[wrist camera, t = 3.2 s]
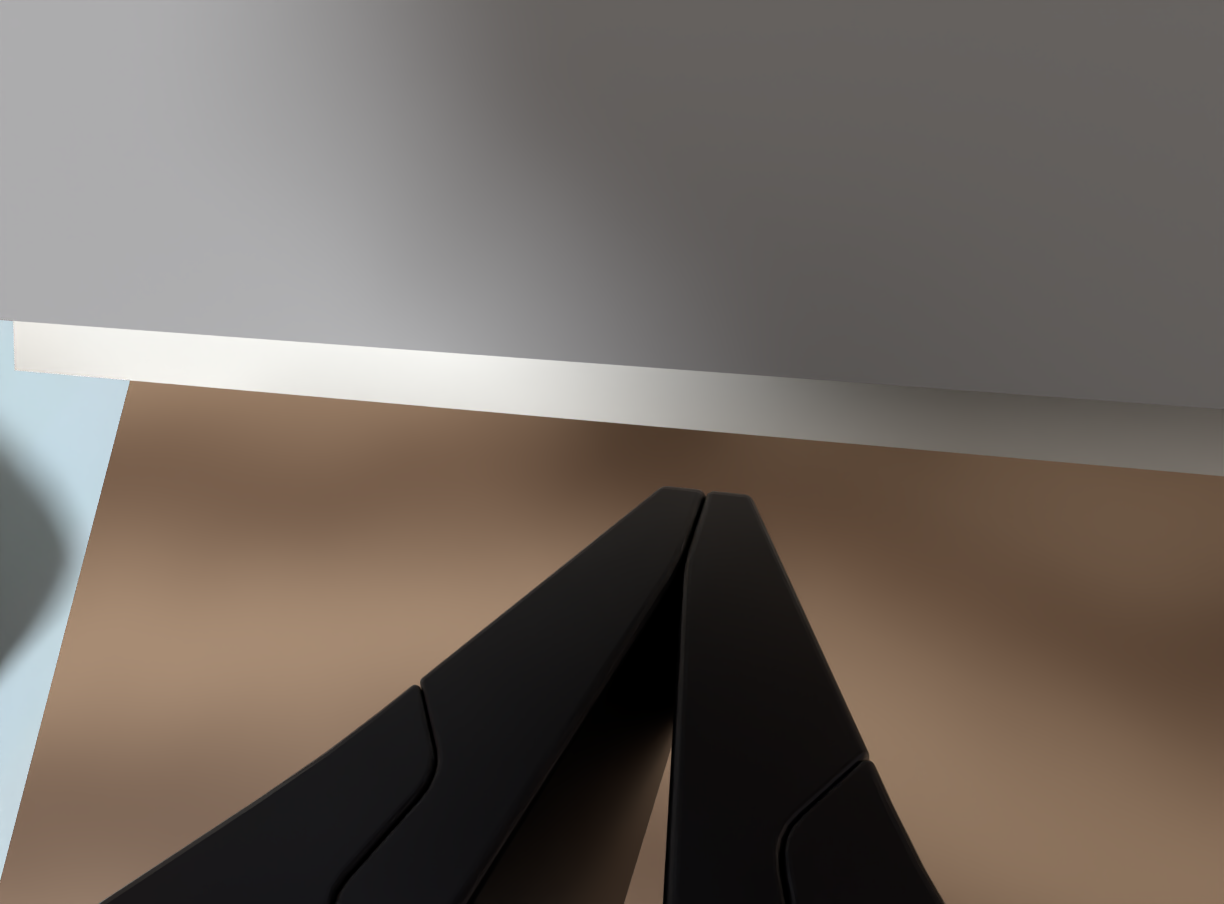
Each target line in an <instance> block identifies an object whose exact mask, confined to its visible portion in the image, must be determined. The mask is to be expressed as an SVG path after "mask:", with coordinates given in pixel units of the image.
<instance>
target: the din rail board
mask: <svg viewBox="0 0 1224 904" xmlns="http://www.w3.org/2000/svg"><path fill="white" fill-rule="evenodd" d="M664 486H672V487H681V488H690V489H699V490H701V491H703V492H704V494H705V496H706V495H707V494H708V493H710V492H712V491H718V492H728V493H738V494H746V495H749V496H750V497H751V498H752V499H753V501H754V503H755V505H756V507H757V509H758V511H759V514H760V516H761V518H762V520H763V522H764V524H765V527H766V529H767V531H768V533H769V535H770V538H771V540H772V542H773V544H774V546H775V549H776V551H777V553H778V555H779V557H780V559H781V562H782V564H783V566H784V568H785V570H786V573H787V575H788V577H789V579H790V581H791V584H792V586H793V588H794V590H795V592H796V595H797V597H798V599H799V601H800V603H801V605H802V608H803V610H804V612H805V614H806V616H807V619H808V621H809V623H810V625H811V627H812V630H813V632H814V634H815V636H816V638H817V641H818V643H819V645H820V647H821V649H822V651H823V654H824V656H825V658H826V660H827V662H828V665H829V667H830V669H831V671H832V673H833V676H834V678H835V680H836V682H837V684H838V686H839V689H840V691H841V693H842V695H843V697H844V700H845V702H846V704H847V706H848V708H849V711H850V713H851V715H852V717H853V719H854V722H855V724H856V726H857V728H858V730H859V732H860V735H861V737H862V739H863V741H864V743H865V746H866V748H867V750H868V752H869V760H870V761H872V762H873V763H874V764H875V766H876V769H877V771H878V773H879V775H880V777H881V779H882V782H883V784H884V786H885V788H886V790H887V793H888V795H889V797H890V799H891V801H892V804H893V806H894V808H895V810H896V812H897V814H898V816H899V818H900V820H901V822H902V824H903V826H904V828H905V830H906V832H907V834H908V836H909V838H910V840H911V842H912V844H913V846H914V848H915V850H916V852H917V854H918V856H919V858H920V860H921V862H922V864H923V866H924V868H925V870H926V871H927V873H928V875H929V876H930V878H931V880H932V882H933V883H934V885H935V887H936V889H937V890H938V892H939V894H940V895H941V897H942V899H943V901H944V902H945V904H1224V476H1215V475H1203V474H1192V473H1180V472H1169V471H1158V470H1146V469H1135V468H1123V467H1112V466H1101V465H1089V464H1078V463H1066V462H1055V461H1044V460H1032V459H1021V458H1009V457H998V456H987V455H975V454H964V453H952V452H941V451H929V450H918V449H907V448H895V447H884V446H872V445H861V444H850V443H838V442H827V441H815V440H804V439H793V438H781V437H770V436H758V435H747V434H736V433H724V432H713V431H701V430H690V429H679V428H667V427H656V426H644V425H633V424H622V423H610V422H599V421H587V420H576V419H565V418H553V417H542V416H530V415H519V414H507V413H496V412H485V411H473V410H462V409H450V408H439V407H428V406H416V405H405V404H393V403H382V402H371V401H359V400H348V399H336V398H325V397H314V396H302V395H291V394H279V393H268V392H257V391H245V390H234V389H222V388H211V387H200V386H188V385H177V384H165V383H154V382H143V381H131V380H130V383H129V387H128V391H127V395H126V399H125V402H124V406H123V410H122V414H121V418H120V422H119V426H118V429H117V433H116V437H115V441H114V445H113V449H112V453H111V456H110V460H109V464H108V468H107V472H106V476H105V479H104V483H103V487H102V491H101V495H100V499H99V503H98V506H97V510H96V514H95V518H94V522H93V526H92V530H91V533H90V537H89V541H88V545H87V549H86V553H85V556H84V560H83V564H82V568H81V572H80V576H79V580H78V583H77V587H76V591H75V595H74V599H73V603H72V607H71V610H70V614H69V618H68V622H67V626H66V630H65V633H64V637H63V641H62V645H61V649H60V653H59V657H58V660H57V664H56V668H55V672H54V676H53V680H52V684H51V687H50V691H49V695H48V699H47V703H46V707H45V710H44V714H43V718H42V722H41V726H40V730H39V734H38V737H37V741H36V745H35V749H34V753H33V757H32V761H31V764H30V768H29V772H28V776H27V780H26V784H25V788H24V791H23V795H22V799H21V803H20V807H19V811H18V814H17V818H16V822H15V826H14V830H13V834H12V838H11V841H10V845H9V849H8V853H7V857H6V861H5V865H4V868H3V872H2V876H1V880H0V904H98V903H100V902H102V901H103V900H105V899H106V898H108V897H109V896H111V895H112V894H114V893H115V892H117V891H118V890H120V889H121V888H123V887H124V886H126V885H127V884H129V883H130V882H132V881H133V880H135V879H137V878H138V877H140V876H141V875H143V874H144V873H146V872H147V871H149V870H150V869H152V868H153V867H155V866H156V865H158V864H159V863H161V862H162V861H164V860H165V859H167V858H168V857H170V856H171V855H173V854H175V853H176V852H178V851H179V850H181V849H182V848H184V847H185V846H187V845H188V844H190V843H191V842H193V841H194V840H196V839H197V838H199V837H200V836H202V835H203V834H205V833H206V832H208V831H210V830H211V829H213V828H214V827H216V826H217V825H219V824H220V823H222V822H223V821H225V820H226V819H228V818H229V817H231V816H232V815H234V814H235V813H237V812H238V811H240V810H241V809H243V808H245V807H246V806H248V805H249V804H251V803H252V802H254V801H255V800H257V799H258V798H260V797H261V796H263V795H264V794H266V793H267V792H268V791H270V790H271V789H273V788H274V787H276V786H277V785H279V784H280V783H282V782H283V781H284V780H286V779H287V778H289V777H290V776H292V775H293V774H295V773H296V772H298V771H299V770H300V769H302V768H303V767H305V766H306V765H308V764H309V763H311V762H312V761H313V760H315V759H316V758H318V757H319V756H321V755H322V754H324V753H325V752H326V751H328V750H329V749H330V748H332V747H333V746H334V745H336V744H337V743H338V742H340V741H341V740H342V739H344V738H345V737H346V736H348V735H349V734H350V733H352V732H353V731H354V730H355V729H357V728H358V727H359V726H361V725H362V724H363V723H365V722H366V721H367V720H369V719H370V718H371V717H373V716H374V715H375V714H377V713H378V712H379V711H381V710H382V709H383V708H384V707H386V706H387V705H388V704H389V703H391V702H392V701H393V700H394V699H396V698H397V697H398V696H399V695H401V694H402V693H403V692H404V691H406V690H407V689H408V688H409V687H411V686H412V685H418V686H419V687H420V680H421V678H422V677H424V676H425V675H426V674H427V673H429V672H430V671H431V670H432V669H434V668H435V667H436V666H437V665H439V664H440V663H441V662H442V661H444V660H445V659H446V658H447V657H449V656H450V655H451V654H452V653H454V652H455V651H456V650H457V649H459V648H460V647H461V646H462V645H464V644H465V643H466V642H467V641H469V640H470V639H471V638H472V637H474V636H475V635H476V634H477V633H479V632H480V631H481V630H482V629H484V628H485V627H486V626H488V625H489V624H490V623H491V622H493V621H494V620H495V619H496V618H498V617H499V616H500V615H501V614H503V613H504V612H505V611H506V610H508V609H509V608H510V607H511V606H513V605H514V604H515V603H516V602H518V601H519V600H520V599H521V598H523V597H524V596H525V595H526V594H528V593H529V592H530V591H531V590H533V589H534V588H535V587H536V586H538V585H539V584H540V583H541V582H543V581H544V580H545V579H546V578H548V577H549V576H550V575H551V574H553V573H554V572H555V571H556V570H558V569H559V568H560V567H561V566H563V565H564V564H565V563H566V562H568V561H569V560H570V559H571V558H573V557H574V556H575V555H576V554H578V553H579V552H580V551H581V550H583V549H584V548H585V547H586V546H588V545H589V544H590V543H591V542H593V541H594V540H595V539H596V538H598V537H599V536H600V535H601V534H603V533H604V532H605V531H606V530H608V529H609V528H610V527H611V526H613V525H614V524H615V523H616V522H618V521H619V520H620V519H621V518H623V517H624V516H625V515H626V514H628V513H629V512H630V511H631V510H633V509H634V508H635V507H636V506H638V505H639V504H640V503H641V502H643V501H644V500H645V499H647V498H648V497H649V496H650V495H652V494H653V493H654V492H655V491H657V490H658V489H659V488H661V487H664ZM420 688H421V687H420ZM671 748H672V747H671ZM670 766H671V750H670V754H669V757H668V760H667V764H666V767H665V770H664V773H663V777H662V780H661V783H660V787H659V790H658V793H657V797H656V800H655V803H654V806H653V810H652V813H651V816H650V820H649V823H648V826H647V830H646V833H645V836H644V839H643V843H642V846H641V849H640V853H639V856H638V859H637V862H636V866H635V869H634V872H633V876H632V879H631V882H630V886H629V889H628V892H627V895H626V899H625V902H624V904H663V889H664V872H665V854H666V836H667V819H668V801H669V783H670Z"/></svg>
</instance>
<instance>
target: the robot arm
mask: <svg viewBox="0 0 1224 904" xmlns="http://www.w3.org/2000/svg"><path fill="white" fill-rule="evenodd" d="M420 687H421V688H420ZM420 687H419V686H418V685H412V686H411V687H409V688H408V689H407V690H406V691H404V692H403V693H402V694H401V695H399V696H398V697H397V698H396V699H394V700H393V701H392V702H391V703H389V704H388V705H387V706H386V707H384V708H383V709H382V710H381V711H379V712H378V713H377V714H375V715H374V716H373V717H371V718H370V719H369V720H367V721H366V722H365V723H363V724H362V725H361V726H359V727H358V728H357V729H355V730H354V731H353V732H352V733H350V734H349V735H348V736H346V737H345V738H344V739H342V740H341V741H340V742H338V743H337V744H336V745H334V746H333V747H332V748H330V749H329V750H328V751H326V752H325V753H324V754H322V755H321V756H319V757H318V758H316V759H315V760H313V761H312V762H311V763H309V764H308V765H306V766H305V767H303V768H302V769H300V770H299V771H298V772H296V773H295V774H293V775H292V776H290V777H289V778H287V779H286V780H284V781H283V782H282V783H280V784H279V785H277V786H276V787H274V788H273V789H271V790H270V791H268V792H267V793H266V794H264V795H263V796H261V797H260V798H258V799H257V800H255V801H254V802H252V803H251V804H249V805H248V806H246V807H245V808H243V809H241V810H240V811H238V812H237V813H235V814H234V815H232V816H231V817H229V818H228V819H226V820H225V821H223V822H222V823H220V824H219V825H217V826H216V827H214V828H213V829H211V830H210V831H208V832H206V833H205V834H203V835H202V836H200V837H199V838H197V839H196V840H194V841H193V842H191V843H190V844H188V845H187V846H185V847H184V848H182V849H181V850H179V851H178V852H176V853H175V854H173V855H171V856H170V857H168V858H167V859H165V860H164V861H162V862H161V863H159V864H158V865H156V866H155V867H153V868H152V869H150V870H149V871H147V872H146V873H144V874H143V875H141V876H140V877H138V878H137V879H135V880H133V881H132V882H130V883H129V884H127V885H126V886H124V887H123V888H121V889H120V890H118V891H117V892H115V893H114V894H112V895H111V896H109V897H108V898H106V899H105V900H103V901H102V902H100V903H98V904H624V902H625V899H626V895H627V892H628V889H629V886H630V882H631V879H632V876H633V872H634V869H635V866H636V862H637V859H638V856H639V853H640V849H641V846H642V843H643V839H644V836H645V833H646V830H647V826H648V823H649V820H650V816H651V813H652V810H653V806H654V803H655V800H656V797H657V793H658V790H659V787H660V783H661V780H662V777H663V773H664V770H665V767H666V764H667V760H668V757H669V754H670V750H671V766H670V783H669V801H668V819H667V836H666V854H665V872H664V889H663V904H945V902H944V901H943V899H942V897H941V895H940V894H939V892H938V890H937V889H936V887H935V885H934V883H933V882H932V880H931V878H930V876H929V875H928V873H927V871H926V870H925V868H924V866H923V864H922V862H921V860H920V858H919V856H918V854H917V852H916V850H915V848H914V846H913V844H912V842H911V840H910V838H909V836H908V834H907V832H906V830H905V828H904V826H903V824H902V822H901V820H900V818H899V816H898V814H897V812H896V810H895V808H894V806H893V804H892V801H891V799H890V797H889V795H888V793H887V790H886V788H885V786H884V784H883V782H882V779H881V777H880V775H879V773H878V771H877V769H876V766H875V764H874V763H873V762H872V761H870V760H869V752H868V750H867V748H866V746H865V743H864V741H863V739H862V737H861V735H860V732H859V730H858V728H857V726H856V724H855V722H854V719H853V717H852V715H851V713H850V711H849V708H848V706H847V704H846V702H845V700H844V697H843V695H842V693H841V691H840V689H839V686H838V684H837V682H836V680H835V678H834V676H833V673H832V671H831V669H830V667H829V665H828V662H827V660H826V658H825V656H824V654H823V651H822V649H821V647H820V645H819V643H818V641H817V638H816V636H815V634H814V632H813V630H812V627H811V625H810V623H809V621H808V619H807V616H806V614H805V612H804V610H803V608H802V605H801V603H800V601H799V599H798V597H797V595H796V592H795V590H794V588H793V586H792V584H791V581H790V579H789V577H788V575H787V573H786V570H785V568H784V566H783V564H782V562H781V559H780V557H779V555H778V553H777V551H776V549H775V546H774V544H773V542H772V540H771V538H770V535H769V533H768V531H767V529H766V527H765V524H764V522H763V520H762V518H761V516H760V514H759V511H758V509H757V507H756V505H755V503H754V501H753V499H752V498H751V497H750V496H749V495H746V494H738V493H728V492H718V491H712V492H710V493H708V494H707V495H706V496H705V494H704V492H703V491H701V490H699V489H690V488H681V487H672V486H664V487H661V488H659V489H658V490H657V491H655V492H654V493H653V494H652V495H650V496H649V497H648V498H647V499H645V500H644V501H643V502H641V503H640V504H639V505H638V506H636V507H635V508H634V509H633V510H631V511H630V512H629V513H628V514H626V515H625V516H624V517H623V518H621V519H620V520H619V521H618V522H616V523H615V524H614V525H613V526H611V527H610V528H609V529H608V530H606V531H605V532H604V533H603V534H601V535H600V536H599V537H598V538H596V539H595V540H594V541H593V542H591V543H590V544H589V545H588V546H586V547H585V548H584V549H583V550H581V551H580V552H579V553H578V554H576V555H575V556H574V557H573V558H571V559H570V560H569V561H568V562H566V563H565V564H564V565H563V566H561V567H560V568H559V569H558V570H556V571H555V572H554V573H553V574H551V575H550V576H549V577H548V578H546V579H545V580H544V581H543V582H541V583H540V584H539V585H538V586H536V587H535V588H534V589H533V590H531V591H530V592H529V593H528V594H526V595H525V596H524V597H523V598H521V599H520V600H519V601H518V602H516V603H515V604H514V605H513V606H511V607H510V608H509V609H508V610H506V611H505V612H504V613H503V614H501V615H500V616H499V617H498V618H496V619H495V620H494V621H493V622H491V623H490V624H489V625H488V626H486V627H485V628H484V629H482V630H481V631H480V632H479V633H477V634H476V635H475V636H474V637H472V638H471V639H470V640H469V641H467V642H466V643H465V644H464V645H462V646H461V647H460V648H459V649H457V650H456V651H455V652H454V653H452V654H451V655H450V656H449V657H447V658H446V659H445V660H444V661H442V662H441V663H440V664H439V665H437V666H436V667H435V668H434V669H432V670H431V671H430V672H429V673H427V674H426V675H425V676H424V677H422V678H421V680H420ZM671 747H672V748H671Z"/></svg>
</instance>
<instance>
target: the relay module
mask: <svg viewBox="0 0 1224 904" xmlns="http://www.w3.org/2000/svg"><path fill="white" fill-rule="evenodd" d="M0 320H8V321H13V332H14V362H15V370H17V371H28V372H40V373H51V374H63V375H74V376H85V377H97V378H108V379H120V380H131V381H143V382H154V383H165V384H177V385H188V386H200V387H211V388H222V389H234V390H245V391H257V392H268V393H279V394H291V395H302V396H314V397H325V398H336V399H348V400H359V401H371V402H382V403H393V404H405V405H416V406H428V407H439V408H450V409H462V410H473V411H485V412H496V413H507V414H519V415H530V416H542V417H553V418H565V419H576V420H587V421H599V422H610V423H622V424H633V425H644V426H656V427H667V428H679V429H690V430H701V431H713V432H724V433H736V434H747V435H758V436H770V437H781V438H793V439H804V440H815V441H827V442H838V443H850V444H861V445H872V446H884V447H895V448H907V449H918V450H929V451H941V452H952V453H964V454H975V455H987V456H998V457H1009V458H1021V459H1032V460H1044V461H1055V462H1066V463H1078V464H1089V465H1101V466H1112V467H1123V468H1135V469H1146V470H1158V471H1169V472H1180V473H1192V474H1203V475H1215V476H1224V0H0Z"/></svg>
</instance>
